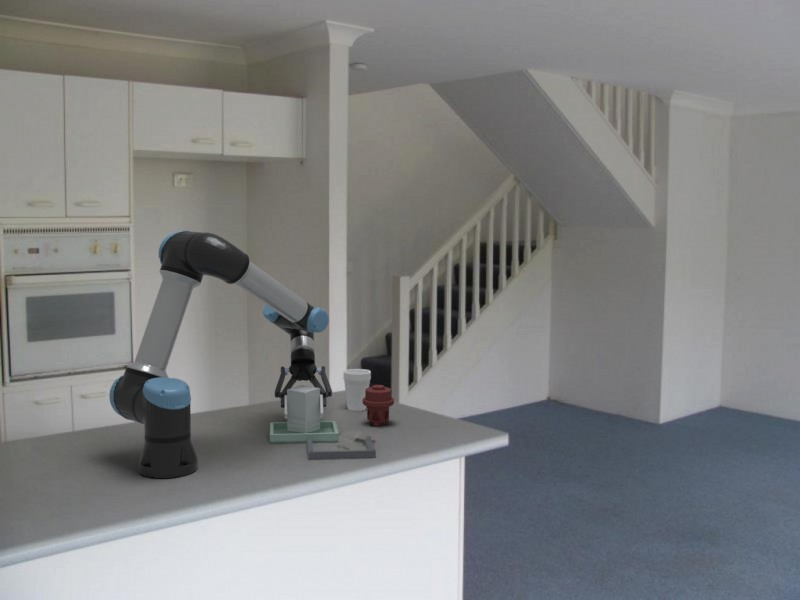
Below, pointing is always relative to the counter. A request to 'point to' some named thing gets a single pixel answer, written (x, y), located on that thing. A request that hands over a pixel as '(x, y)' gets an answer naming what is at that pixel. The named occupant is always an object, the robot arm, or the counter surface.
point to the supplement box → (303, 409)
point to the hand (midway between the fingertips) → (303, 416)
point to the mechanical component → (378, 404)
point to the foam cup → (356, 387)
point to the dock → (342, 452)
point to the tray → (323, 434)
